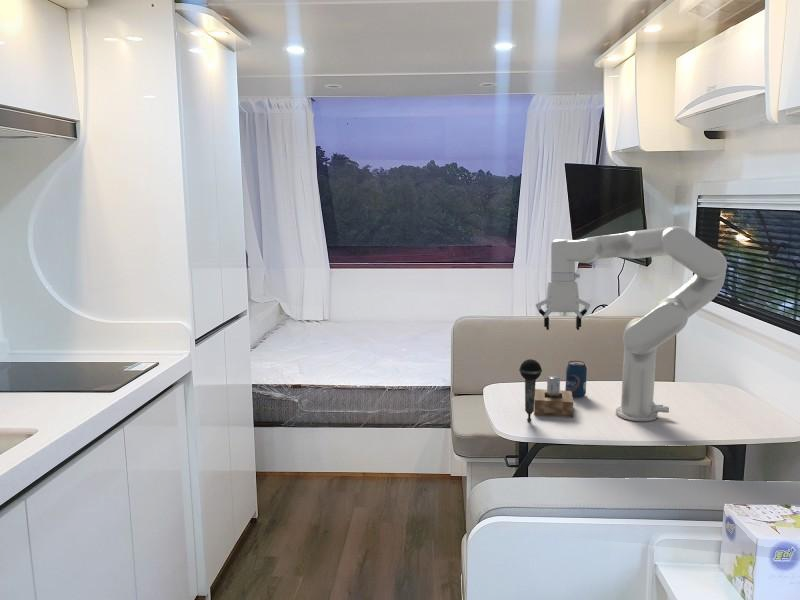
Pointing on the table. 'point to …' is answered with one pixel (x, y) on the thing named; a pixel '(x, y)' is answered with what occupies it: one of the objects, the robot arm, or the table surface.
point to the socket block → (553, 404)
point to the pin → (553, 387)
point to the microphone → (530, 383)
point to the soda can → (576, 378)
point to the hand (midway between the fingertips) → (562, 329)
